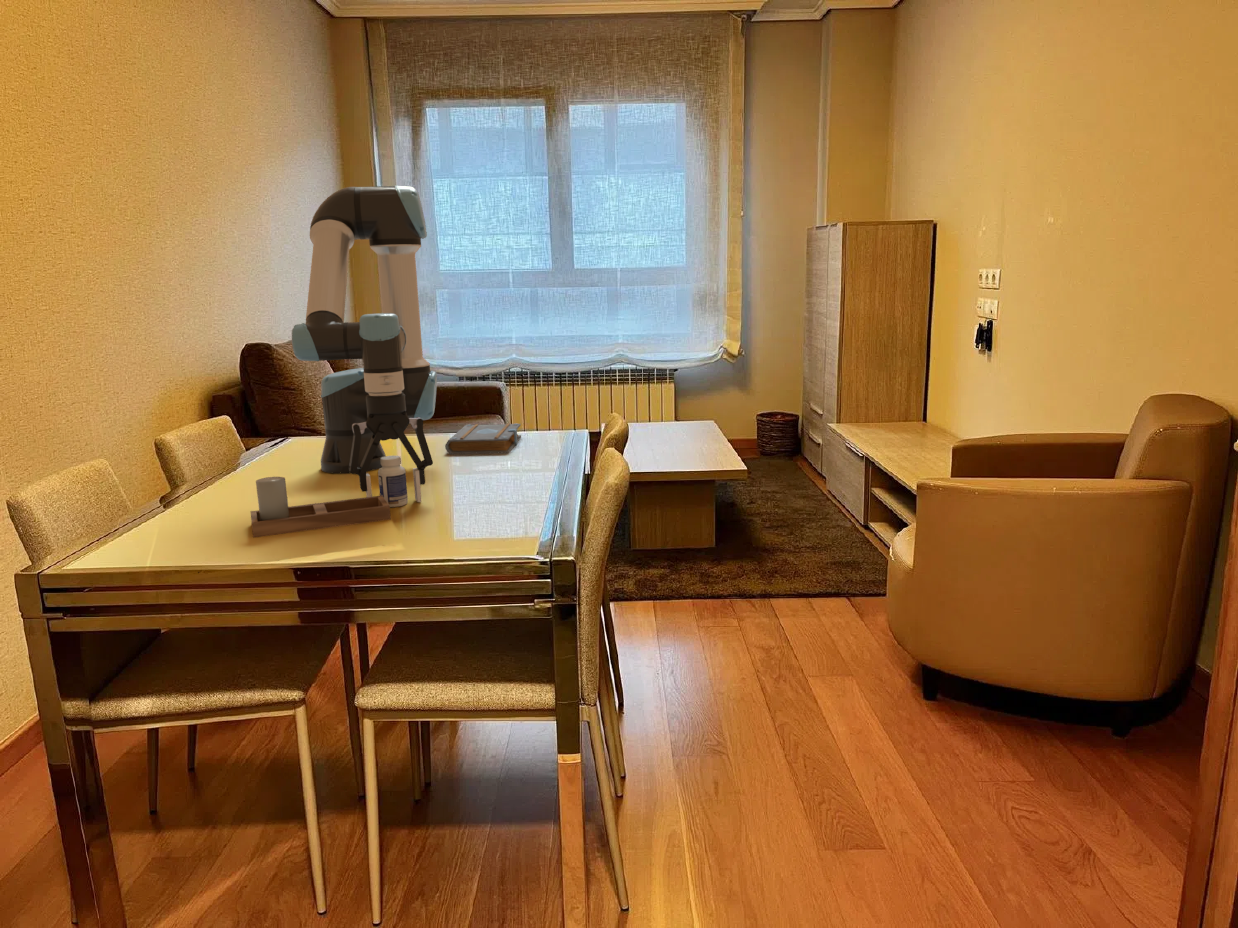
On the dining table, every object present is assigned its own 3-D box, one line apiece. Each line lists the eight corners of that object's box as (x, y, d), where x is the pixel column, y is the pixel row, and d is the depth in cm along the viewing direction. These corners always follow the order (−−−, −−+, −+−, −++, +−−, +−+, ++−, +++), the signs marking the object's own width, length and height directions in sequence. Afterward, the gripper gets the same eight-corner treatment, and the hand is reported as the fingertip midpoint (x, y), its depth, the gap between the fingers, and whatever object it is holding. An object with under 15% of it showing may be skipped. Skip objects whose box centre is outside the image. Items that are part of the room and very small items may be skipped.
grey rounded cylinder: (260, 525, 169) (255, 478, 167) (289, 522, 171) (284, 475, 169) (261, 532, 165) (256, 484, 163) (291, 529, 167) (286, 481, 165)
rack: (252, 529, 171) (250, 511, 170) (383, 512, 180) (382, 495, 179) (253, 542, 163) (251, 523, 162) (391, 524, 172) (389, 506, 171)
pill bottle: (413, 501, 187) (409, 455, 185) (398, 508, 182) (394, 460, 180) (390, 500, 189) (386, 454, 187) (375, 506, 184) (371, 459, 182)
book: (463, 439, 253) (462, 422, 252) (522, 438, 252) (521, 420, 251) (445, 456, 233) (444, 436, 231) (510, 454, 232) (509, 435, 231)
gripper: (330, 399, 173) (341, 514, 178) (443, 390, 181) (451, 500, 186) (326, 395, 180) (337, 505, 185) (435, 386, 188) (443, 492, 193)
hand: (394, 503), depth 186 cm, fingers open, 9 cm apart
